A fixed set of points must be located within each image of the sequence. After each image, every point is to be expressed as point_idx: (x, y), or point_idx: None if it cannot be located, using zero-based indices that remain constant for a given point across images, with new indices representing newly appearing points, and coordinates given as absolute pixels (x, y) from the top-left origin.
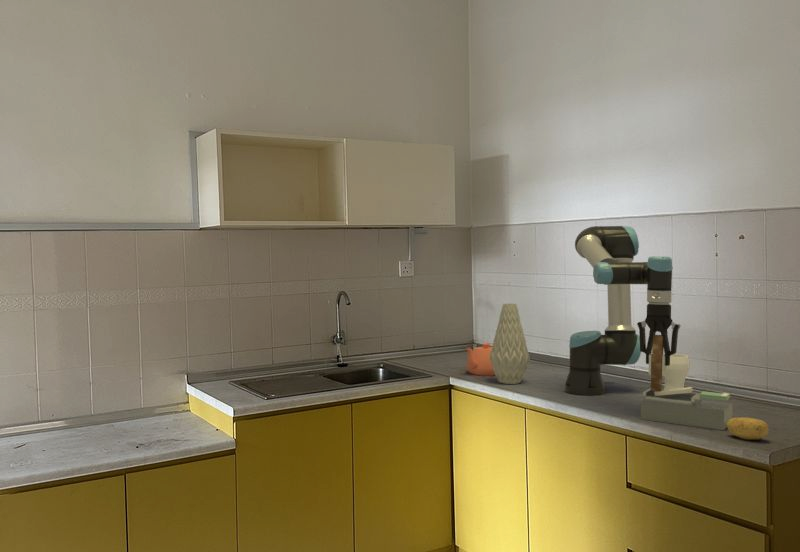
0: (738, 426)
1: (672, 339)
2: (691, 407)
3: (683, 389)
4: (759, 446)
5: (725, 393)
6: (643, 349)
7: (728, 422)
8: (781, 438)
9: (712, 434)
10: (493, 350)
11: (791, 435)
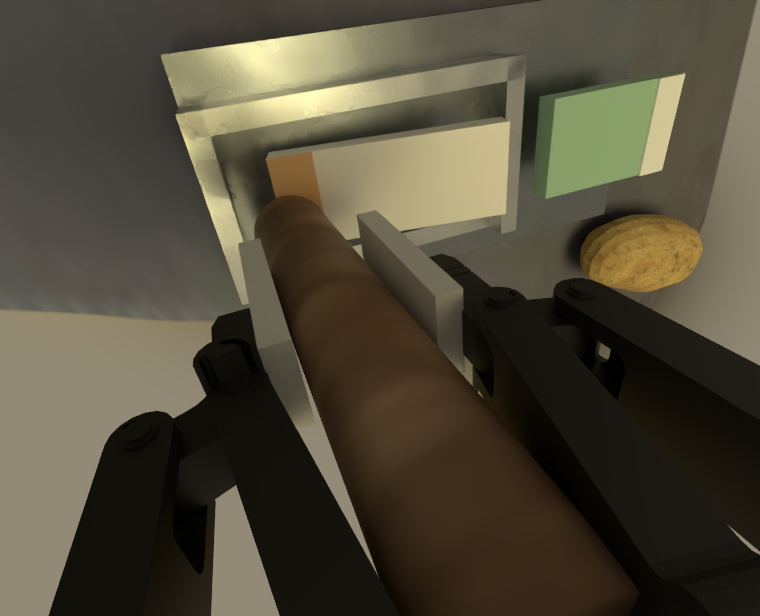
0: (620, 288)
1: (727, 507)
2: (484, 245)
3: (472, 215)
4: None
5: (666, 91)
6: (211, 513)
7: (598, 278)
8: (696, 155)
9: (523, 270)
10: None
11: (732, 84)
